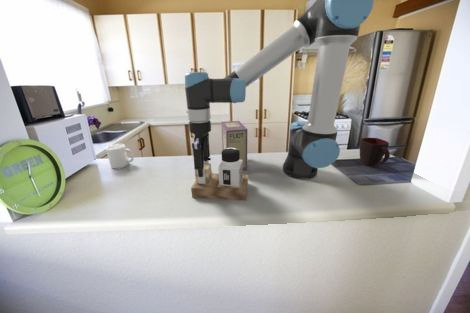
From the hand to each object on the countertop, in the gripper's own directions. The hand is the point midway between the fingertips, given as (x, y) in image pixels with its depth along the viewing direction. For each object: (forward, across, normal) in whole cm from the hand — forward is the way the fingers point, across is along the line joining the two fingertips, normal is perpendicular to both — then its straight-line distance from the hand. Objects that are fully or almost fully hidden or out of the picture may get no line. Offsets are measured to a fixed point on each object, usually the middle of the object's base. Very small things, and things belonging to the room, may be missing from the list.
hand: (204, 179), depth 78 cm
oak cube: (0, 0, 0) cm, 0 cm away
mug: (+4, -28, +75) cm, 80 cm away
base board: (+4, 0, +7) cm, 8 cm away
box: (+5, -24, +9) cm, 26 cm away
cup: (+5, -18, -47) cm, 51 cm away
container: (0, 0, +11) cm, 11 cm away
